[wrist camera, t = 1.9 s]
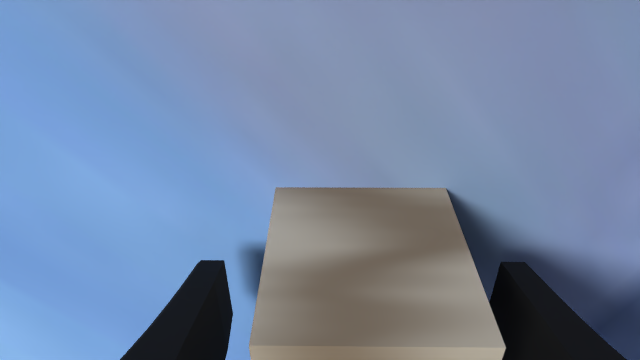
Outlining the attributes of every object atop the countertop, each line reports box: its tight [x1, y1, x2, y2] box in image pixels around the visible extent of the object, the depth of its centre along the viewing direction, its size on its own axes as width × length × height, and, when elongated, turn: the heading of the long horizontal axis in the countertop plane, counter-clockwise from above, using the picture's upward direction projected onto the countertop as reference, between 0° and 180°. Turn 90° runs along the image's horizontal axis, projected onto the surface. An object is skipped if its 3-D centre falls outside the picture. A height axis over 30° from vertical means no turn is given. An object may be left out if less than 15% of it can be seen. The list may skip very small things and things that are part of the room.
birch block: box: [249, 187, 506, 360], centre depth 11 cm, size 4×4×5 cm
